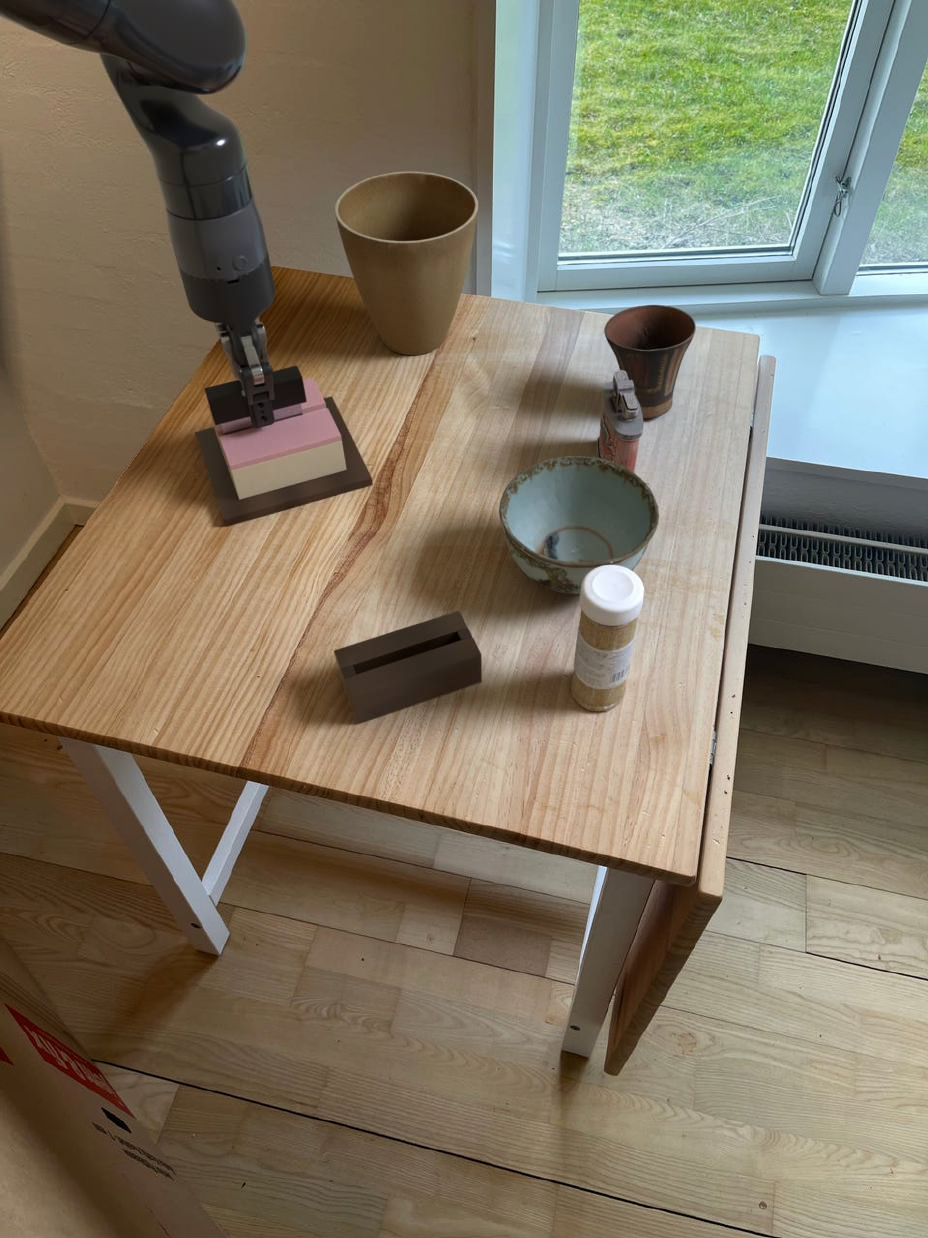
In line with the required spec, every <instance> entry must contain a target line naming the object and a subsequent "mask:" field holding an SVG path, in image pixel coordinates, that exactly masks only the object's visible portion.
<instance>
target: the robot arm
mask: <svg viewBox="0 0 928 1238" xmlns="http://www.w3.org/2000/svg"><path fill="white" fill-rule="evenodd" d="M0 18H2V19H4V20H7V21H9V22H11V23H13V24H15V25H17V26H19V27H21V28H24V29H26V30H28V31H32V32H33V33H36V34H38V35H40V36H43V37H46V38H48V39H50V40H53V41H55V42H57V43H60V44H62V45H64V46H68V47H70V48H74V49H77V50H82V51H86V52H90V53H93V54H94V53H95V54H98V56H99V59H100V61H101V64H102V66H103V68H104V70H105V72H106V74H107V76H108V78H109V81H110V83H111V85H112V87H113V88H114V91H115V92H116V95H117V96H118V98H119V100H120V102H121V104H122V106H123V108H124V109H125V112H126V113H127V115H128V116H129V118H130V120H131V122H132V124H133V126H134V129H135V130H136V131H137V134H138V135H139V137H140V138H141V140H142V141H143V143H144V145H145V146H146V148H147V150H148V152H149V153H150V157H151V160H152V164H153V168H154V172H155V175H156V178H157V182H158V186H159V190H160V193H161V196H162V201H163V205H164V209H165V214H166V222H167V228H168V234H169V238H170V242H171V245H172V249H173V252H174V256H175V260H176V264H177V267H178V271H179V274H180V277H181V282H182V286H183V288H184V292H185V295H186V296H185V297H186V299H187V303H188V306H189V309H190V310H191V311H192V313H193V314H195V315H196V316H197V317H198V318H200V319H201V320H205V321H207V322H209V323H213V324H214V328H215V331H216V333H217V336H218V337H219V339H220V343H221V346H222V349H223V352H224V354H225V357H226V360H227V361H228V362H229V367H230V371H231V373H232V375H233V377H234V379H235V380H239V381H240V383H241V387H242V391H241V392H242V396H244V398H245V401H246V403H247V407H248V411H249V415H250V419H251V423H252V425H253V427H254V428H261V427H265V426H269V425H272V424H273V423H274V422H275V418H274V413H273V409H272V404H271V400H273V399H274V395H275V393H274V387H273V376H272V371H274V369H273V366H272V365H271V362H270V357H269V353H268V348H267V344H268V336H267V331H266V328H265V325H264V323H263V322H261V321H260V316H261V315H262V314H263V313H265V312H266V311H267V310H268V309H270V307H271V306H272V304H273V303H274V301H275V298H276V286H275V281H274V276H273V270H272V265H271V259H270V254H269V249H268V245H267V239H266V235H265V230H264V225H263V220H262V216H261V212H260V210H259V207H258V203H257V202H256V198H255V195H254V190H253V186H252V181H251V175H250V170H249V165H248V160H247V155H246V151H245V146H244V142H243V138H242V135H241V131H240V130H239V128H238V126H237V124H236V123H235V122H234V121H233V120H232V119H231V118H230V117H228V116H227V115H225V114H224V113H222V112H220V111H219V110H217V109H215V108H214V107H212V106H210V105H208V104H207V103H206V102H205V101H203V100H202V98H201V97H200V96H199V95H201V96H208V95H214V94H218V93H220V92H222V91H224V90H226V89H227V88H229V87H230V86H231V85H232V84H233V83H235V81H236V80H237V79H238V77H239V76H240V74H241V73H242V71H243V68H244V66H245V62H246V60H247V56H248V55H247V54H248V36H247V29H246V25H245V23H244V19H243V17H242V14H241V12H240V10H239V7H238V6H237V4H236V3H235V1H234V0H0Z"/></svg>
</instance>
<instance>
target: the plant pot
mask: <svg viewBox="0 0 928 1238" xmlns="http://www.w3.org/2000/svg"><path fill="white" fill-rule="evenodd" d="M478 211H479V202H478V198H477V196H476V194H475V193H474V192H473V191H472V189H471V188H470V187H469V186H467V185H466V184H464V183H462V182H461V181H459V180H456V179H454V178H452V177H449V176H445V175H442V174H439V173H434V172H426V171H396V172H389V173H384V174H383V173H382V174H379V175H373V176H371V177H368V178H365V179H362V180H360V181H359V182H356V183H354V184H353V185H351V186H350V187H347V189H345V190H344V191H343V192H342V193H341V194H340V195H339V196H338V198H337V200H336V202H335V204H334V215H335V216H334V217H335V219H336V223H337V227H338V231H339V232H338V233H339V236H340V239H341V243H342V246H343V250H344V253H345V256H346V259H347V262H348V266H349V268H350V271H351V274H352V276H353V280H354V282H355V285H356V287H357V290H358V292H359V295H360V296H361V300H362V302H363V305H364V306H365V309H366V311H367V313H368V315H369V318H370V319H371V321H372V323H373V326H374V328H375V329H376V331H377V333H378V335H379V337H380V338H381V340H382V342H383V344H384V345H385V347H387V348H388V349H389V350H391V351H392V352H395V353H398V354H400V355H407V356H418V355H419V356H420V355H424V354H428V353H431V352H434V351H435V350H437V349H439V348H440V347H441V346H442V345H443V344H444V342H445V341H446V338H447V336H448V333H449V330H450V328H451V326H452V323H453V320H454V317H455V315H456V312H457V308H458V306H459V302H460V299H461V296H462V293H463V289H464V286H465V281H466V278H467V273H468V270H469V266H470V261H471V254H472V250H473V245H474V237H475V230H476V224H477V217H478Z"/></svg>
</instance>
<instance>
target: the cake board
mask: <svg viewBox="0 0 928 1238" xmlns="http://www.w3.org/2000/svg"><path fill="white" fill-rule="evenodd" d="M323 399H324V401H325V405H326V409H327V408H328V410H329V412H330V414H331V416H332V418H333V420H334V422H335V424H336V426H337V428H338V430H339V432H340V435H341V439H342V445H343V452H344V458H345V464H346V470H344V471H341V472H337V473H333V474H330V475H326V476H323V477H319V478H316V479H312V480H308V481H305V482H301V483H298V484H294V485H291V486H287V487H283V488H280V489H276V490H273V491H269V492H266V493H262V494H258V495H255V496H251V497H248V498H244V499H241V500H239V498H238V495H237V492H236V490H235V487H234V484H233V481H232V478H231V475H230V473H229V469H228V466H227V464H226V461H225V458H224V456H223V453H222V450H221V447H220V444H219V441H218V438H217V435H216V432H215V428H214V426H213V427H208V428H204V429H201V430H198V431H194V435H195V438H196V441H197V444H198V447H199V450H200V453H201V456H202V459H203V462H204V465H205V468H206V471H207V474H208V477H209V481H210V483H211V486H212V489H213V492H214V495H215V498H216V502H217V504H218V508H219V510H220V514H221V516H222V519H223V523H224V526H225V527H230V526H234V525H238V524H240V523H244V522H247V521H251V520H255V519H258V518H262V517H265V516H268V515H272V514H277V513H279V512H282V511H286V510H290V509H292V508H297V507H300V506H304V505H307V504H311V503H314V502H318V501H321V500H325V499H329V498H332V497H335V496H339V495H342V494H346V493H350V492H353V491H356V490H361V489H363V488H367V487H371V486H373V477H372V475H371V474H370V471H369V469H368V467H367V464H366V463H365V461H364V459H363V456H362V454H361V452H360V451H359V449H358V446H357V444H356V442H355V440H354V439H353V436H352V434H351V433H350V430H349V428H348V427H347V424H346V422H345V420H344V418H343V416H342V414H341V412H340V410H339V408H338V406H337V403H336V401H335V399H334V398H333V396H332V395H331V396H327V397H323Z"/></svg>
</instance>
